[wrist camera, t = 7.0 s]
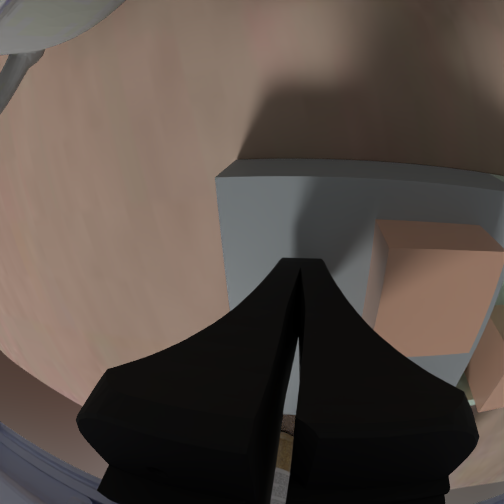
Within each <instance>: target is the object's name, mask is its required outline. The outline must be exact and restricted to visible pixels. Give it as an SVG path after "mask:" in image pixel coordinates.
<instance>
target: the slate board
mask: <svg viewBox="0 0 504 504" xmlns="http://www.w3.org/2000/svg"><path fill="white" fill-rule="evenodd" d="M215 182H216V192H217V202H218V211H219V221H220V230H221V239H222V248H223V257H224V265H225V274H226V282H227V291H228V299H229V307H230V311H231V310H232V309H234V308H235V307H236V306H237V305H238V304H239V303H240V302H242V301H243V300H244V299H245V298H246V297H247V296H248V295H249V294H250V293H251V292H252V291H253V290H254V289H255V288H256V287H257V286H258V285H259V284H260V283H261V282H262V281H263V280H264V279H265V277H266V276H267V275H268V274H269V273H270V272H271V270H272V269H273V268H274V267H275V265H276V264H277V263H278V261H279V260H280V259H281V258H318V259H322V260H323V261H324V262H325V264H326V266H327V268H328V270H329V272H330V274H331V276H332V277H333V279H334V281H335V282H336V284H337V285H338V287H339V288H340V290H341V291H342V293H343V294H344V296H345V297H346V298H347V300H348V301H349V303H350V304H351V305H352V306H353V308H354V309H355V310H356V311H357V312H358V314H359V315H360V316H361V317H362V313H363V307H364V302H365V296H366V289H367V283H368V276H369V269H370V262H371V254H372V246H373V237H374V228H375V219H382V220H404V221H423V222H440V223H455V224H470V225H480V226H481V227H482V228H483V229H484V230H485V231H486V232H488V233H489V234H490V235H491V236H492V237H493V238H494V239H495V240H496V241H497V242H498V243H499V244H500V245H501V246H502V247H503V248H504V182H503V181H501V180H499V179H498V178H496V177H494V176H492V175H490V174H488V173H482V172H476V171H469V170H462V169H454V168H446V167H437V166H428V165H418V164H407V163H394V162H380V161H363V160H340V159H242V160H235V161H234V162H233V163H232V164H231V165H229V166H228V167H227V168H226V169H225V170H223V171H222V172H221V173H220V174H219V175H217V176H216V177H215ZM503 281H504V265H503V268H502V271H501V274H500V277H499V280H498V283H497V286H496V289H495V292H494V295H493V298H492V300H491V303H490V306H489V308H488V311H487V313H486V316H485V318H484V321H483V323H482V325H481V328H480V330H479V332H478V334H477V337H476V339H475V341H474V343H473V345H472V348H471V350H470V352H469V353H460V354H449V355H435V356H418V357H407V358H408V359H410V360H411V361H413V362H414V363H416V364H417V365H419V366H420V367H422V368H423V369H425V370H426V371H428V372H429V373H431V374H433V375H434V376H436V377H438V378H440V379H442V380H444V381H445V382H447V383H449V384H451V385H453V386H455V387H456V385H457V383H458V381H459V380H460V378H461V376H462V374H463V372H464V371H465V369H466V367H467V365H468V363H469V361H470V359H471V357H472V355H473V353H474V351H475V349H476V347H477V345H478V343H479V341H480V338H481V336H482V334H483V332H484V330H485V327H486V325H487V323H488V320H489V318H490V315H491V313H492V311H493V308H494V305H495V303H496V300H497V298H498V295H499V292H500V289H501V287H502V284H503ZM298 392H299V337H298V342H297V347H296V352H295V357H294V361H293V366H292V371H291V375H290V380H289V384H288V388H287V393H286V398H285V404H284V411H283V414H290V415H296V409H297V401H298Z"/></svg>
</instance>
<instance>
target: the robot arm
mask: <svg viewBox="0 0 504 504" xmlns="http://www.w3.org/2000/svg"><path fill="white" fill-rule="evenodd" d="M298 337H299V392H298V401H297V409H296V417H295V428H294V439H293V449H292V459H291V468H290V476H289V483H288V490H287V496H286V503H285V504H445V497H444V494H447V493H448V492H449V490H450V484H449V475H450V474H451V473H452V472H453V471H454V470H455V469H456V468H457V467H458V466H459V465H460V464H461V463H462V462H463V461H464V460H465V459H466V458H467V457H468V456H469V455H470V454H471V452H472V451H473V450H474V448H475V447H476V445H477V442H478V439H479V434H478V430H477V427H476V423H475V419H474V415H473V412H472V409H471V407H470V404H469V402H468V399H467V397H466V395H465V392H464V391H462V390H460V389H458V388H457V387H455V386H453V385H451V384H449V383H447V382H445V381H444V380H442V379H440V378H438V377H436V376H434V375H433V374H431V373H429V372H428V371H426V370H425V369H423V368H422V367H420V366H419V365H417V364H416V363H414V362H413V361H411V360H410V359H408V358H407V357H406V356H404V355H403V354H402V353H400V352H399V351H398V350H396V349H395V348H394V347H393V346H391V345H390V344H389V343H388V342H387V341H385V340H384V339H383V338H382V337H381V336H380V335H379V334H377V333H376V332H375V331H374V330H373V329H372V328H371V327H370V326H369V325H368V324H367V323H366V322H365V320H364V319H363V318H362V317H361V316H360V315H359V314H358V312H357V311H356V310H355V309H354V308H353V306H352V305H351V304H350V303H349V301H348V300H347V298H346V297H345V296H344V294H343V293H342V291H341V290H340V288H339V287H338V285H337V284H336V282H335V281H334V279H333V277H332V276H331V274H330V272H329V270H328V268H327V266H326V264H325V262H324V261H323V260H322V259H318V258H281V259H280V260H279V261H278V263H277V264H276V265H275V267H274V268H273V269H272V270H271V272H270V273H269V274H268V275H267V276H266V277H265V279H264V280H263V281H262V282H261V283H260V284H259V285H258V286H257V287H256V288H255V289H254V290H253V291H252V292H251V293H250V294H249V295H248V296H247V297H246V298H245V299H244V300H243V301H242V302H240V303H239V304H238V305H237V306H236V307H235V308H234V309H232V310H231V311H230V312H229V313H227V314H226V315H225V316H223V317H222V318H221V319H219V320H218V321H216V322H215V323H213V324H212V325H210V326H208V327H207V328H205V329H203V330H201V331H200V332H198V333H196V334H195V335H193V336H191V337H189V338H188V339H186V340H184V341H182V342H180V343H178V344H176V345H173V346H171V347H169V348H167V349H165V350H162V351H160V352H157V353H155V354H153V355H150V356H147V357H145V358H142V359H139V360H136V361H133V362H130V363H126V364H123V365H120V366H117V367H114V368H110V369H107V370H106V372H105V373H104V374H103V376H102V377H101V379H100V380H99V382H98V383H97V385H96V386H95V388H94V389H93V391H92V393H91V394H90V396H89V397H88V399H87V400H86V402H85V404H84V405H83V407H82V408H81V410H80V412H79V413H78V416H77V418H76V422H77V425H78V428H79V431H80V432H81V434H82V435H83V436H84V438H85V439H86V440H87V442H88V443H90V445H91V446H92V447H93V448H94V449H95V450H96V451H97V452H98V454H99V455H100V456H101V457H102V458H103V459H104V460H105V461H106V462H107V463H108V464H109V466H108V468H107V470H106V472H105V475H104V476H103V479H100V478H98V477H95V476H93V475H91V474H89V473H86V472H85V471H82V470H80V469H78V468H76V467H74V466H72V465H70V464H68V463H66V462H65V461H63V460H60V459H59V458H57V457H55V456H53V455H52V454H50V453H48V452H47V451H45V450H43V449H41V448H40V447H38V446H36V445H35V444H33V443H31V442H30V441H28V440H27V439H25V438H24V437H22V436H21V435H19V434H17V433H16V432H15V431H13V430H12V429H10V428H9V427H7V426H6V425H5V424H3V423H2V422H0V504H270V501H271V495H272V488H273V482H274V475H275V469H276V462H277V455H278V448H279V441H280V433H281V426H282V418H283V411H284V404H285V398H286V393H287V388H288V384H289V380H290V375H291V371H292V366H293V361H294V357H295V352H296V347H297V342H298ZM475 504H504V493H503V494H501V495H498V496H496V497H493V498H490V499H487V500H484V501H481V502H478V503H475Z"/></svg>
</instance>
